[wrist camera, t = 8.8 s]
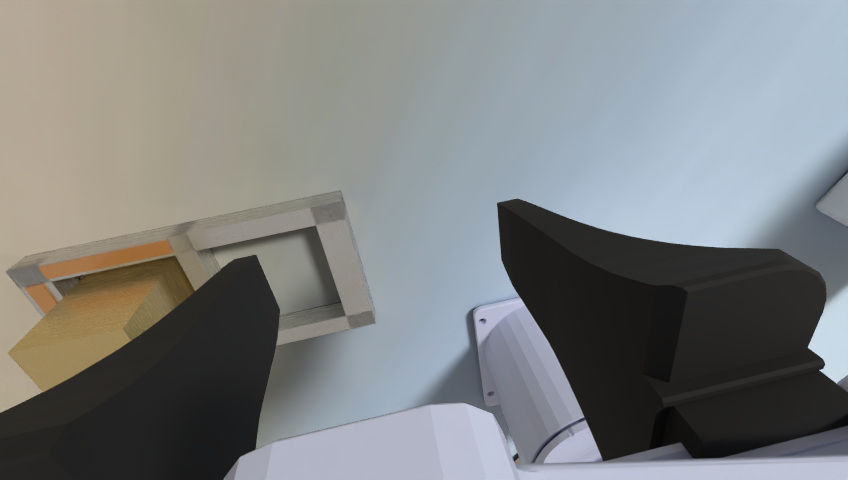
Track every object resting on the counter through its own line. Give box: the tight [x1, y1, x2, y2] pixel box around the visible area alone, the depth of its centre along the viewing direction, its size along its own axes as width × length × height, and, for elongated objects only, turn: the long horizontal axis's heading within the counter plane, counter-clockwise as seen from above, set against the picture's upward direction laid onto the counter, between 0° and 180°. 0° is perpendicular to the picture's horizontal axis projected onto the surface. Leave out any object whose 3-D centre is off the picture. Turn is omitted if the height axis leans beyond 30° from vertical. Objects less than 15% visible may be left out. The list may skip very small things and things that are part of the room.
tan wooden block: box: [8, 255, 195, 392], centre depth 20 cm, size 4×4×6 cm
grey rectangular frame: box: [6, 191, 376, 346], centre depth 22 cm, size 8×16×2 cm, turn 99°
